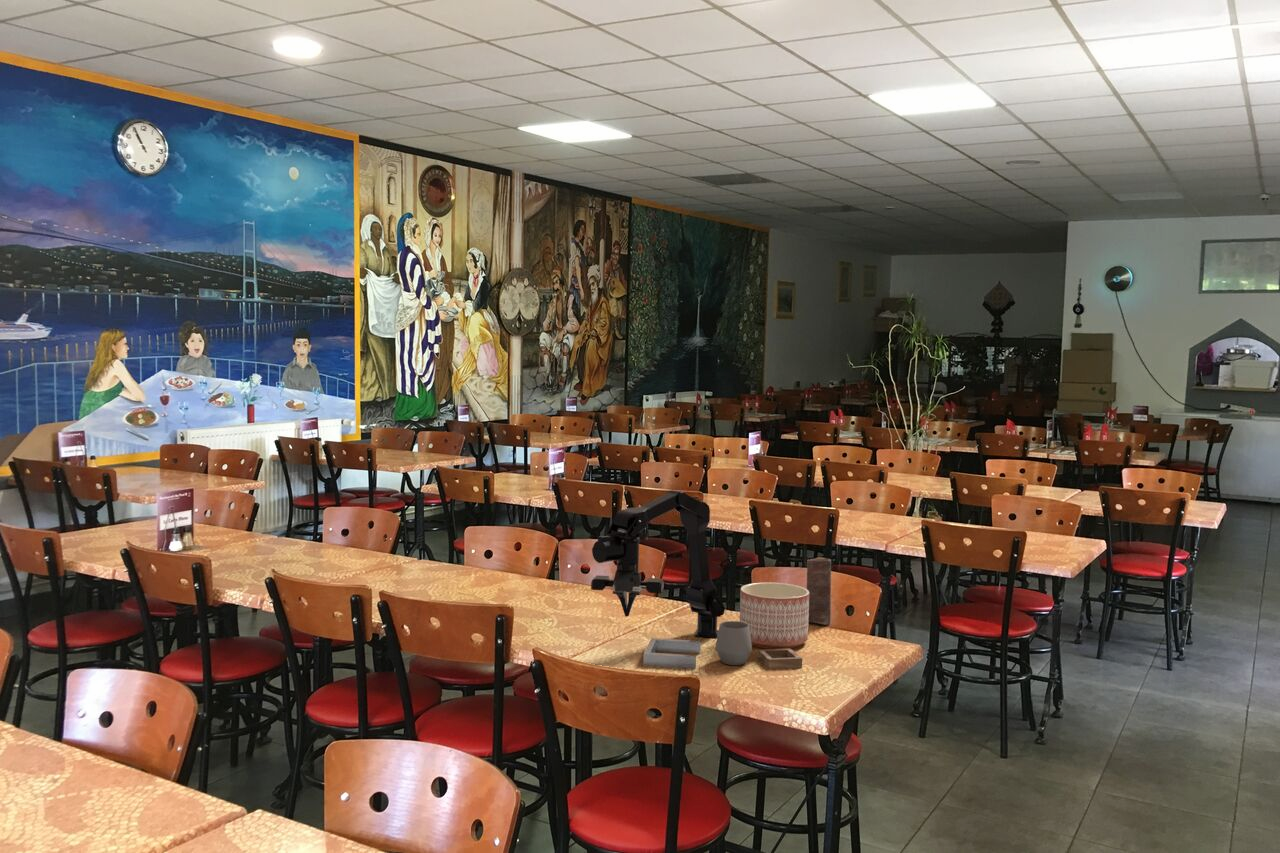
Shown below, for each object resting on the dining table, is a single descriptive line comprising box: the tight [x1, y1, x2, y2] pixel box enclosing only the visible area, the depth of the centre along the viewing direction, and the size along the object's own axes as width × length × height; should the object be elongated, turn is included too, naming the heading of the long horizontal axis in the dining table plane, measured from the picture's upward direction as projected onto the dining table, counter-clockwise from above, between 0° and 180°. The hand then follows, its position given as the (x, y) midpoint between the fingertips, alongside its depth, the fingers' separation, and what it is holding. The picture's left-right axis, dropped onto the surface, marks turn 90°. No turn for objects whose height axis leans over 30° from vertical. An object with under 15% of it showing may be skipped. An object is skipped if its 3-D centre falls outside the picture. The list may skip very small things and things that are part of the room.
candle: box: [806, 556, 832, 626], centre depth 300 cm, size 8×7×20 cm
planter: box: [739, 582, 809, 649], centre depth 280 cm, size 19×19×15 cm
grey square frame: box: [642, 637, 702, 670], centre depth 262 cm, size 14×15×3 cm
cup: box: [715, 620, 753, 666], centre depth 260 cm, size 10×9×10 cm
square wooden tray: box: [757, 648, 803, 670], centre depth 260 cm, size 9×9×2 cm
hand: (627, 616), depth 264 cm, fingers closed
